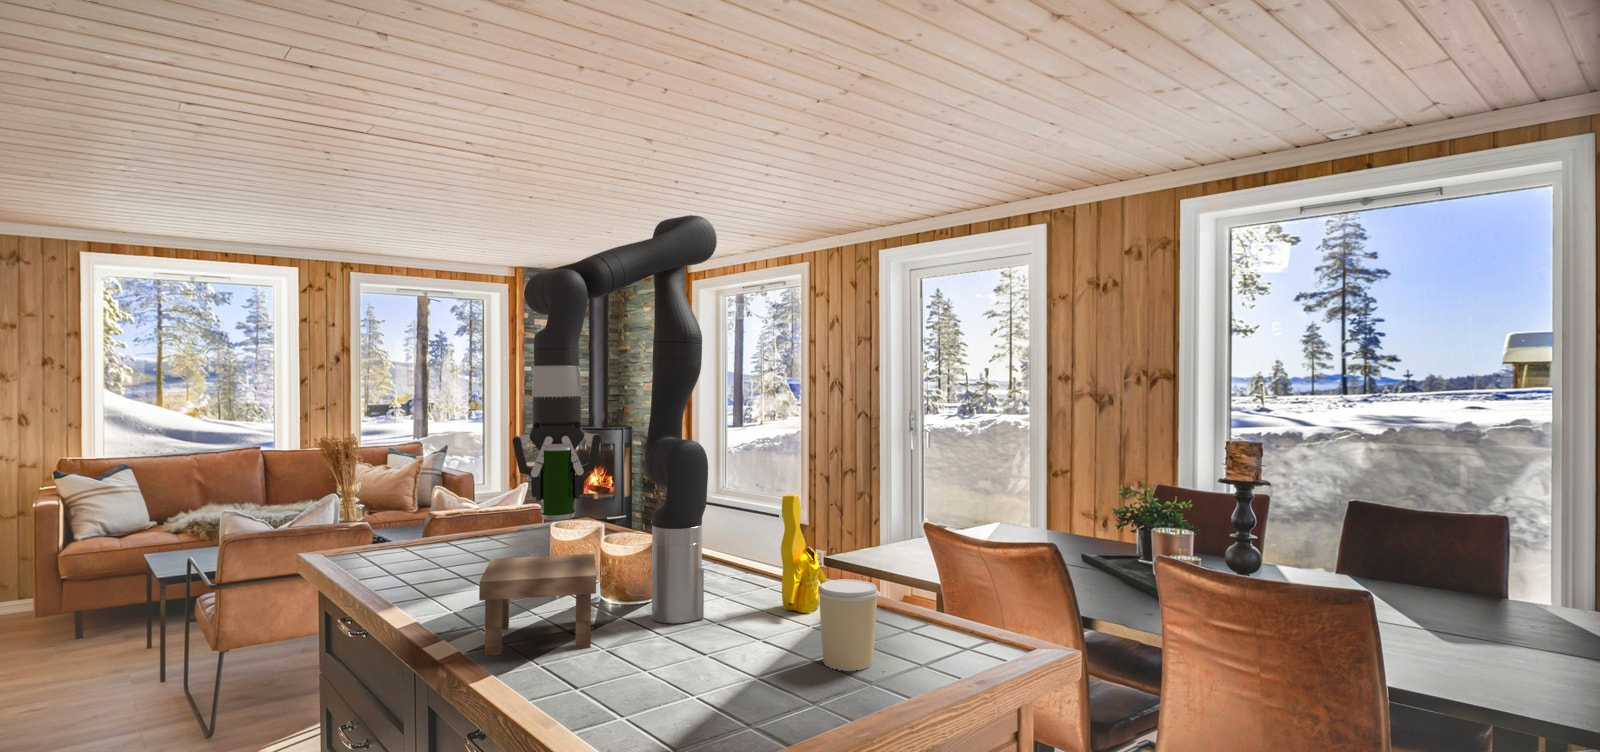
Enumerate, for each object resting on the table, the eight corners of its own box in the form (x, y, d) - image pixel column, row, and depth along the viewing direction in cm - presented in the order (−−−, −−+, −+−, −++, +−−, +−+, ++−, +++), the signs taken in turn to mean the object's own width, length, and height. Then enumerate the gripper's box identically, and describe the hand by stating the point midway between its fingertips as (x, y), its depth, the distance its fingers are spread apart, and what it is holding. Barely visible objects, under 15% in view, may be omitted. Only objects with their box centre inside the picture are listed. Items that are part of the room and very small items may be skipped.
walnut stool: (593, 618, 152) (594, 553, 152) (595, 648, 134) (596, 575, 135) (490, 625, 147) (491, 558, 147) (478, 657, 130) (479, 581, 130)
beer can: (546, 521, 128) (546, 444, 128) (536, 516, 133) (535, 442, 133) (580, 517, 131) (579, 443, 131) (568, 513, 136) (568, 441, 136)
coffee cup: (884, 656, 131) (884, 581, 131) (869, 676, 122) (869, 595, 122) (828, 650, 134) (828, 576, 134) (810, 669, 125) (810, 590, 125)
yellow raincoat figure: (800, 623, 149) (800, 502, 150) (761, 618, 153) (762, 499, 153) (836, 600, 165) (836, 491, 166) (801, 596, 169) (801, 489, 169)
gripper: (601, 393, 138) (602, 493, 138) (511, 394, 134) (512, 498, 133) (603, 394, 130) (604, 500, 130) (508, 395, 126) (509, 504, 126)
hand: (557, 498), depth 132 cm, fingers closed on beer can, 5 cm apart
